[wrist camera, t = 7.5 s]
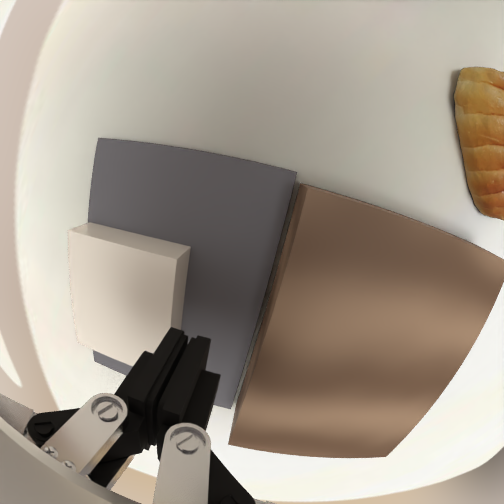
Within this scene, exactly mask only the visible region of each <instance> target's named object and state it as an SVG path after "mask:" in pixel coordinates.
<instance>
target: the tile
mask: <svg viewBox="0 0 504 504" xmlns="http://www.w3.org/2000/svg"><path fill="white" fill-rule="evenodd" d="M190 249H191V247H190V246H186V245H182V244H178V243H173V242H169V241H165V240H161V239H157V238H153V237H148V236H144V235H140V234H136V233H132V232H128V231H124V230H120V229H116V228H112V227H107V226H103V225H99V224H95V223H91V222H89V223H86V224H83V225H81V226H78V227H75V228H72V229H70V230H68V259H69V278H70V290H71V300H72V309H73V317H74V324H75V330H76V336H77V342H78V343H80V344H82V345H84V346H86V347H88V348H90V349H92V350H95V351H97V352H99V353H101V354H104V355H106V356H108V357H111V358H113V359H115V360H118V361H120V362H123V363H125V364H128V365H131V366H134V364H135V363H136V361H137V360H138V359H139V357H140V356H141V354H142V353H143V352H144V351H148V352H150V353H154V352H155V350H156V349H157V347H158V346H159V344H160V343H161V341H162V340H163V338H164V336H165V335H166V333H167V332H168V330H169V329H170V328H171V327H173V328H176V329H179V330H181V324H182V314H183V305H184V296H185V287H186V279H187V271H188V263H189V256H190Z"/></svg>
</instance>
